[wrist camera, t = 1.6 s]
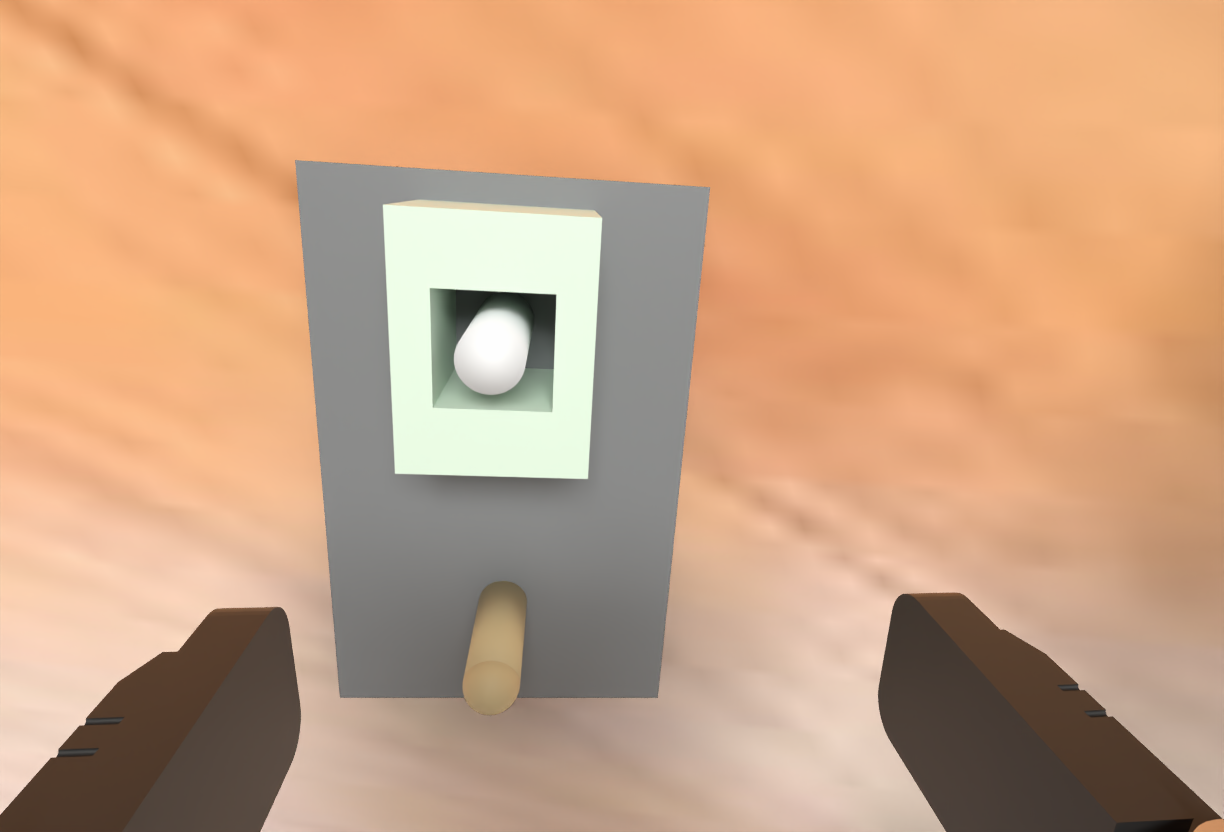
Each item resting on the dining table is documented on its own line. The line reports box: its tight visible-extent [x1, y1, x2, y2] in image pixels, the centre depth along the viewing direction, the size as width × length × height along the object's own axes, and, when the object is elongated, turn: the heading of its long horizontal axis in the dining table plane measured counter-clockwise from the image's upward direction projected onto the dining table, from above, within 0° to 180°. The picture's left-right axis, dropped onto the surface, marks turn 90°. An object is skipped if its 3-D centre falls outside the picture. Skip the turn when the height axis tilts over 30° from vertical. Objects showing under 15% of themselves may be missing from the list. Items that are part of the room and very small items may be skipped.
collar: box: [383, 199, 602, 479], centre depth 23 cm, size 8×6×5 cm
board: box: [295, 160, 710, 715], centre depth 25 cm, size 22×14×8 cm, turn 176°
